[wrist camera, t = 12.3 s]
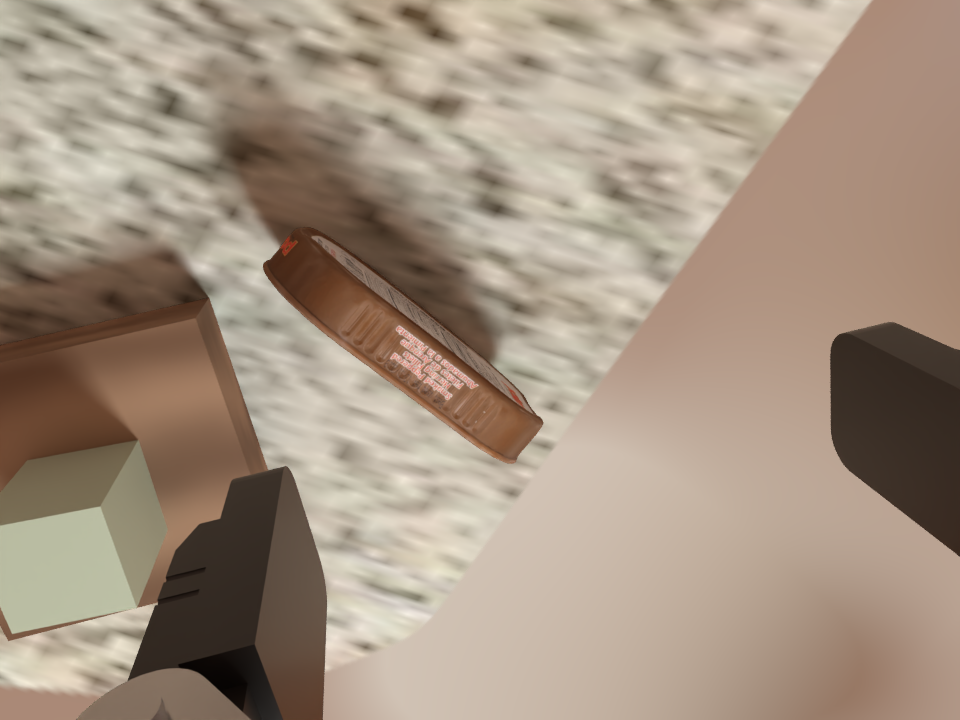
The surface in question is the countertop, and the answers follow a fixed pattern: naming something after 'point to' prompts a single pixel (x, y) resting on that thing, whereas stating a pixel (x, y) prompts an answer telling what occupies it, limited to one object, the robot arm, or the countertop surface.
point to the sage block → (77, 536)
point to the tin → (402, 342)
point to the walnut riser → (134, 412)
